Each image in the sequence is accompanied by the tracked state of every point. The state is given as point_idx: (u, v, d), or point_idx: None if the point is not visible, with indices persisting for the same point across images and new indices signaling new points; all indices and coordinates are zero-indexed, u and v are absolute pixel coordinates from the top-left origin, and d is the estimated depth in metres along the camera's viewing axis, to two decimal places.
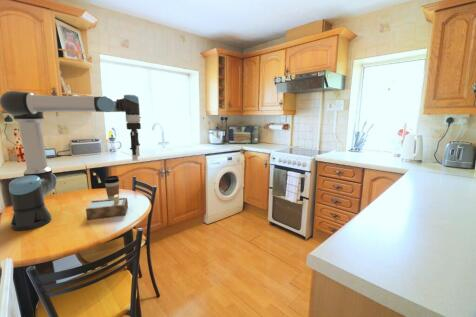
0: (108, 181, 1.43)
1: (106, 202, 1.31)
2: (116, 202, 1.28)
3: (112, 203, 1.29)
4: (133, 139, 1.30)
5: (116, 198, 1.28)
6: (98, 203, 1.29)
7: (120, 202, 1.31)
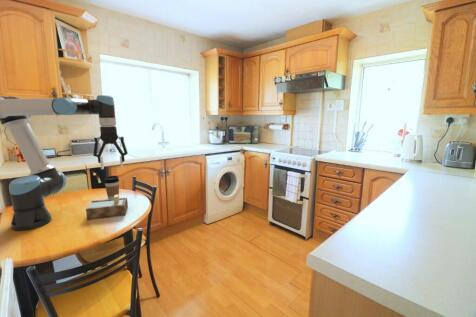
0: (108, 181, 1.43)
1: (106, 202, 1.31)
2: (116, 202, 1.28)
3: (112, 203, 1.29)
4: None
5: (116, 198, 1.28)
6: (98, 203, 1.29)
7: (120, 202, 1.31)
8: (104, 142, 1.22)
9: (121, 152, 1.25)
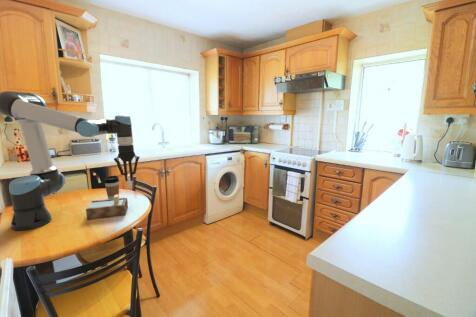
0: (108, 181, 1.43)
1: (106, 202, 1.31)
2: (116, 202, 1.28)
3: (112, 203, 1.29)
4: None
5: (116, 198, 1.28)
6: (98, 203, 1.29)
7: (120, 202, 1.31)
8: (124, 160, 1.26)
9: (131, 171, 1.29)
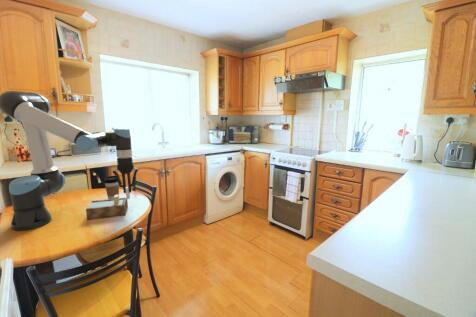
0: (108, 181, 1.43)
1: (106, 202, 1.31)
2: (116, 202, 1.28)
3: (112, 203, 1.29)
4: None
5: (116, 198, 1.28)
6: (98, 203, 1.29)
7: (120, 202, 1.31)
8: (122, 173, 1.27)
9: (129, 183, 1.30)
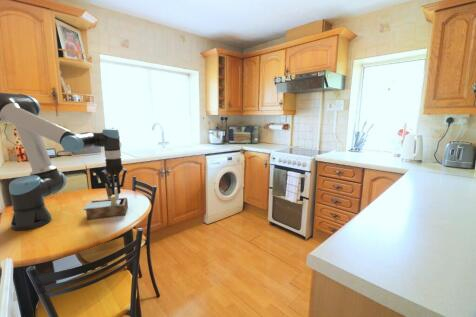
0: None
1: (103, 202, 1.30)
2: (113, 202, 1.28)
3: (109, 203, 1.29)
4: None
5: (113, 198, 1.28)
6: (95, 203, 1.29)
7: (117, 202, 1.30)
8: (111, 174, 1.25)
9: (118, 185, 1.28)
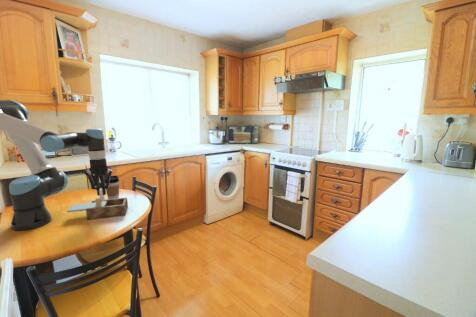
0: None
1: (88, 204, 1.28)
2: (98, 204, 1.26)
3: (94, 205, 1.27)
4: None
5: (98, 200, 1.25)
6: (79, 205, 1.27)
7: (102, 204, 1.28)
8: (95, 174, 1.23)
9: (103, 185, 1.26)
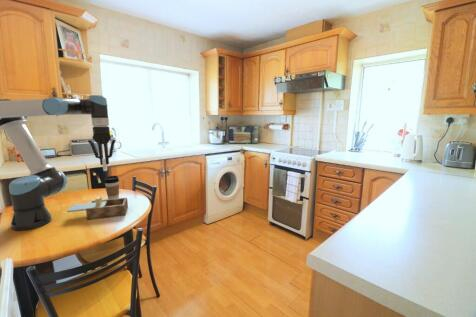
0: (108, 181, 1.43)
1: (88, 204, 1.28)
2: (98, 204, 1.26)
3: (94, 205, 1.27)
4: None
5: (98, 200, 1.25)
6: (79, 205, 1.27)
7: (102, 204, 1.28)
8: (99, 143, 1.21)
9: (106, 155, 1.24)
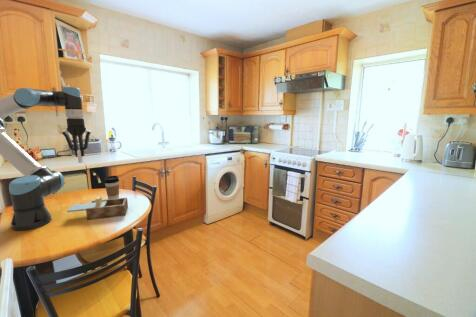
0: (108, 181, 1.43)
1: (88, 204, 1.28)
2: (98, 204, 1.26)
3: (94, 205, 1.27)
4: None
5: (98, 200, 1.25)
6: (79, 205, 1.27)
7: (102, 204, 1.28)
8: (73, 134, 1.22)
9: (81, 146, 1.24)
